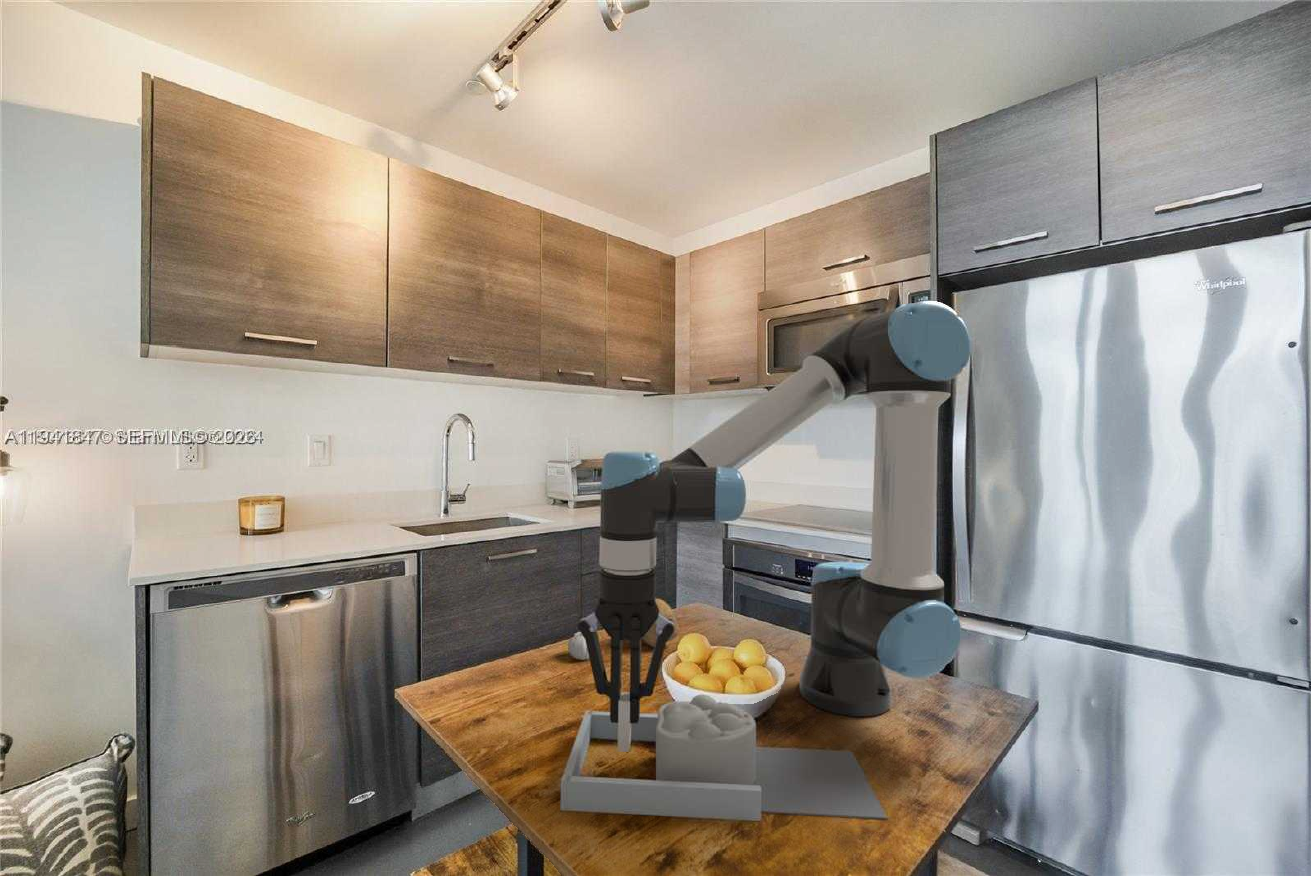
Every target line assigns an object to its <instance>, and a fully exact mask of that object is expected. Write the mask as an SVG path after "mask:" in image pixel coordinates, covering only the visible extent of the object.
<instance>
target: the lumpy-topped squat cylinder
mask: <svg viewBox="0 0 1311 876" xmlns="http://www.w3.org/2000/svg"><path fill="white" fill-rule="evenodd" d="M657 714H658V724H657V727H656V741H655V780H659V781H678V782H698V783H718V784H737V785H753V783H754V782H755V780H756V747H757V722H756V720H755V718H754V717H753V716H752V715H750V714H749V713H748V712H746V711H744V710H743V709H741V708H738V707H736V706H735V705H733V704H730V703H727V702H721V701H719V702H717V701H716V700H715V699H714V697H711V696H710V695H708V694H704V693H703V694H702V693H701V694H698V695H695V696H694V697H693V698H692V699H691V700H689V701H683V700H682V701H671V702H667V703H665V704H662V705H661V706H659V708H658V710H657Z"/></svg>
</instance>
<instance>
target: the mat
mask: <svg viewBox="0 0 1311 876" xmlns="http://www.w3.org/2000/svg"><path fill="white" fill-rule="evenodd" d="M753 785H757V786H761V791H762V792H761V814H762V813H764V814H766V813H767V814H782V815H783V814H784V815H799V816H801V815H803V816H820V817H822V816H823V817H836V818H837V817H840V818H856V819H857V818H858V819H875V820H888V815H887V813H886V812H885V809H884V808H883V806H882V804H881V803H880V801H879V799H878V797H877V795H876V793H875V791H874V789H873V787H872V786H871V784H870V782H869V781H868V779H867V777H866V775H865V772H864V771H863V769H862V767H861V766H860V763H859V762H858V760H857V758H856V756H855V755H854V752H853V751H851V750H850V751H849V750H831V749H813V748H811V749H809V748H808V749H807V748H792V747H791V748H789V747H771V746H770V747H767V746H756V780H755V782H754V783H753Z"/></svg>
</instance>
